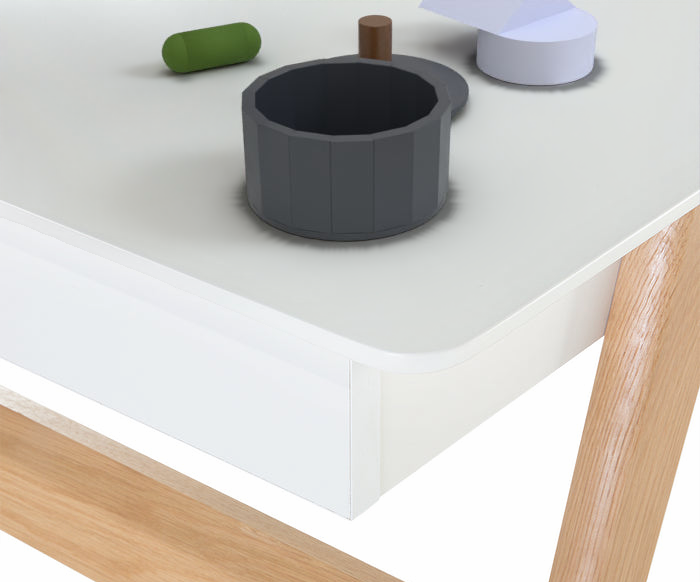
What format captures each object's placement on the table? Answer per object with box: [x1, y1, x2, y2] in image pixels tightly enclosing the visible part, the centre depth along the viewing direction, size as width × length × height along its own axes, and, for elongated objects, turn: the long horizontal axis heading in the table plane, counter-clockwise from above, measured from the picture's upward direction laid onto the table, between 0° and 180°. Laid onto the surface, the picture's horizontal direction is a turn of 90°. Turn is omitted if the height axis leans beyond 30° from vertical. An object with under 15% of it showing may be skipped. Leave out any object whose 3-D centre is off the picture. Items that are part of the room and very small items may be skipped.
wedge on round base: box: [418, 0, 598, 86], centre depth 95 cm, size 9×7×13 cm
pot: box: [240, 57, 452, 242], centre depth 77 cm, size 13×13×6 cm
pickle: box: [161, 21, 262, 74], centre depth 95 cm, size 8×3×3 cm, turn 116°
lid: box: [327, 14, 470, 118], centre depth 88 cm, size 14×14×6 cm
